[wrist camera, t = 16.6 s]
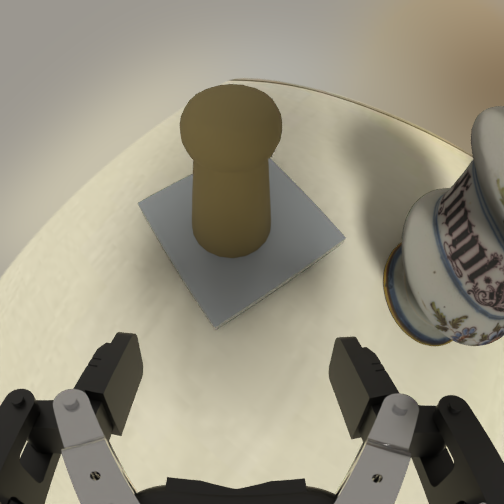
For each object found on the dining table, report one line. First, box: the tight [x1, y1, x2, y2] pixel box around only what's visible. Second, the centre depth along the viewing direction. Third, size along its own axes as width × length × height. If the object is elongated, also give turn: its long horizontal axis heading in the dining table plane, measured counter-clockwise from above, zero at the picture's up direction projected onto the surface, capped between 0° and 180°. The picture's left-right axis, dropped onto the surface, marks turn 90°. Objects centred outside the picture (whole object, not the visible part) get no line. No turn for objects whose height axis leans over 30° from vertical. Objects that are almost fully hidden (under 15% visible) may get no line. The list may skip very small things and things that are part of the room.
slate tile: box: [138, 158, 346, 330], centre depth 23 cm, size 12×12×1 cm
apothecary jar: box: [384, 106, 504, 346], centre depth 13 cm, size 12×12×18 cm
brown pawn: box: [180, 84, 282, 258], centre depth 17 cm, size 6×6×11 cm
